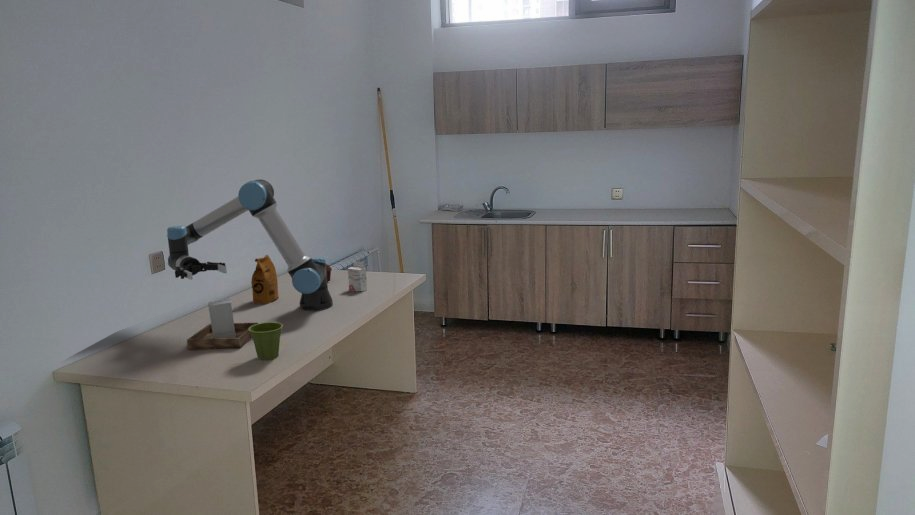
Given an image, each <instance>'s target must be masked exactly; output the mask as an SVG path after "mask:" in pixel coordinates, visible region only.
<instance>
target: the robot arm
mask: <svg viewBox="0 0 915 515" xmlns="http://www.w3.org/2000/svg"><path fill="white" fill-rule="evenodd" d="M274 189H275V188H274V187H273V186H272V184H271V183H270V182H269V181H267V180H265V179H262V178H261V179H255V180H250V181H246V182H245V183H244V184H243V185H241V187H240V188H239V190H238V196H236V197H235V198H233V199H231V200H230V201H228V202H226V203H224V204H223V205H221V206H219V207H217V208H215V209H214V210H212V211H211V212H209V213H207V214H205V215H204V216H202V217H201V218H199V219H197V220H195V221H193V222H192V223H190V224H188V225H186V226H185V225H174V226H169V227H168V228H167V229H166V232H167V235H166V237H167V242H168V243H167V244H168V249H169V250H168V252H169V255H168V257H167V259H168V263H167V265H168V267H169V268H171V269H172V270H174V275H175V279H178V278H179V277H180V280H183V279H188V280H191V281H192V280H193V276H195V275H197V274H199V273H201V272H203V273H204V272H207V271H218V272H219V273H223V274H228V273H227V266H226V262H220V261H219V262H215V261H214V262H210V261H206V262H200V260H198V259H197V258H195V257H192V256H189V254H190V253H189V245H190V244H194V243H195V242H197V241H198V240H200V239H202V238H204V237H205V236H206V235H208V234H210V233H211V232H214V231H215V230H217V229H218V228H220V227H222V226H224V225H225V224H227V223H228V222H231V221H233V220H234V219H236V218H238V217H240V216H241V215H243V214H245V213H247V212H249V213H250V215H251V216H252V218H255V219H258V221H259V222H260V224H261V225H262V227H263V228H264V230H265V231H266V234H267V235H268V236H269V238H270V239H271V241H272V243H273V244H274V246H275V247H276V249H277V251H278V252H279V253H280V255H281V257H282V258H283V261H285V263H286V264H287V270H286V271H287V273H288V274H289V276H290V277H291V283H292V286H293V288H294V289H295V290H296V291H297V292H299V293H300V300H299V309H300V310H303V311H319V310H320V309H321V310H326V309H329V308H331V307H333V305H334V304H333V303H334V302H333V299H332V296H331V294H330V291H329V288H328V287H329V286H328V282H327V272H326V264H327V262H326V261H327V260H326V258H324V257H311V256H307V255H306V254H305V253H304V251H303V249H302V248H301V246H300V245H299V243H298V242H297V240H296V238H295V236H294V234H293V233H292V232H291V230H290V228H289V227H288V225H287V224H286V223H285V221H284V219H283V217H282V216H281V214H280V212H279V211H278V209H277V207H278V206H277V205H278V203H277V201H276V199H275V196H274V195H275V190H274ZM328 307H329V308H328ZM325 308H326V309H325Z"/></svg>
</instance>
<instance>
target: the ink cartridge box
mask: <svg viewBox="0 0 915 515" xmlns="http://www.w3.org/2000/svg"><path fill="white" fill-rule="evenodd" d="M347 276H348V280H347V281H348V290H349V291H352V290H354V292H358V291H362V292H365V291H368V284H367V283H368V282H367V268H366V262H364V261H357V260H353V266H351V267H348V268H347ZM364 290H365V291H364Z"/></svg>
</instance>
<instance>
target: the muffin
mask: <svg viewBox="0 0 915 515" xmlns="http://www.w3.org/2000/svg"><path fill="white" fill-rule="evenodd" d="M326 272H327V283H329V282H328V281H330V282H331V278H332V277H331V274H332V267H331V266H330V265H329V264H327V263H326Z"/></svg>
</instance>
